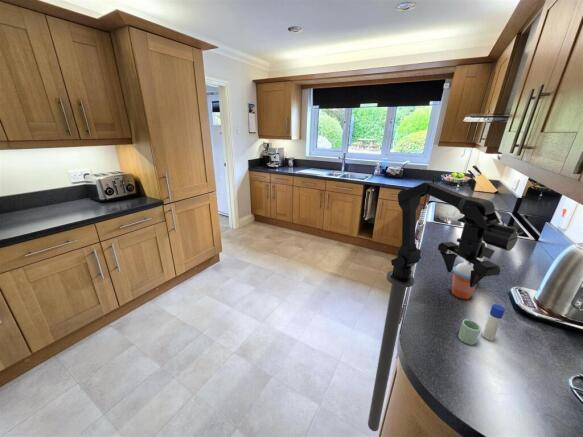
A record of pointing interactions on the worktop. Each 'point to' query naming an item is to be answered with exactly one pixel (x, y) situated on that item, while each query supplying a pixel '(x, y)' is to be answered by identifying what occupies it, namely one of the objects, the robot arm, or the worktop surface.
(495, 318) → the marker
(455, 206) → the robot arm
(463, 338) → the glass
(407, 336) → the worktop surface
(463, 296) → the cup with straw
